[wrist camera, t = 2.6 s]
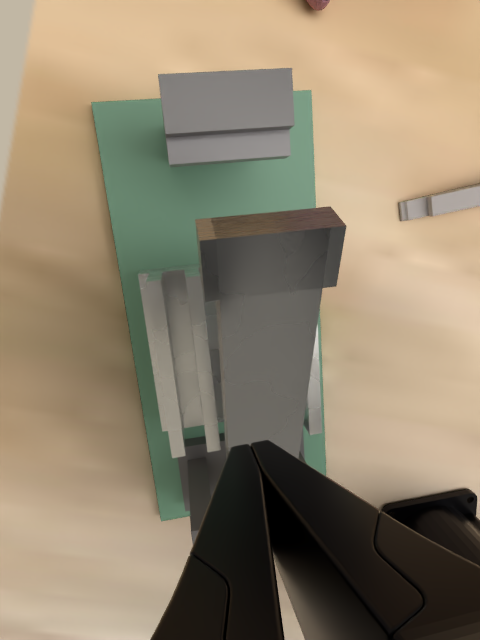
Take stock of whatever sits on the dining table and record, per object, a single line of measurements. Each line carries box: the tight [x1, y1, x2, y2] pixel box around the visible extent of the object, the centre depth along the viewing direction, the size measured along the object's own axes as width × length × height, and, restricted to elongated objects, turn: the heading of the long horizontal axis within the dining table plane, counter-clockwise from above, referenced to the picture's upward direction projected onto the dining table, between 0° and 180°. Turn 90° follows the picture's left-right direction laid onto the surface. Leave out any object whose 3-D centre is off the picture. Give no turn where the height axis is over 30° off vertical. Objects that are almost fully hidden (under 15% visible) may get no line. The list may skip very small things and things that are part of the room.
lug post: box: [158, 68, 295, 167], centre depth 16 cm, size 4×2×7 cm, turn 95°
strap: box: [195, 207, 346, 459], centre depth 14 cm, size 3×16×2 cm, turn 5°
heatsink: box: [138, 264, 322, 458], centre depth 20 cm, size 8×8×4 cm
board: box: [91, 90, 326, 521], centre depth 22 cm, size 10×22×1 cm, turn 5°
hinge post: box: [177, 430, 307, 544], centre depth 21 cm, size 7×4×6 cm, turn 95°
